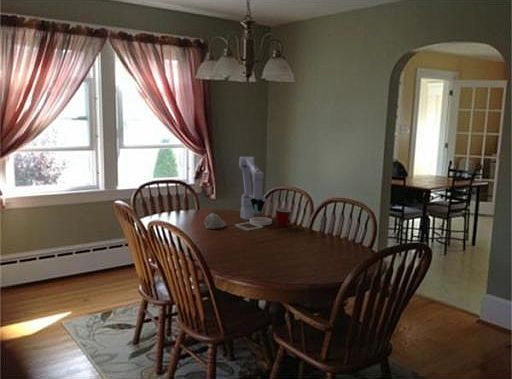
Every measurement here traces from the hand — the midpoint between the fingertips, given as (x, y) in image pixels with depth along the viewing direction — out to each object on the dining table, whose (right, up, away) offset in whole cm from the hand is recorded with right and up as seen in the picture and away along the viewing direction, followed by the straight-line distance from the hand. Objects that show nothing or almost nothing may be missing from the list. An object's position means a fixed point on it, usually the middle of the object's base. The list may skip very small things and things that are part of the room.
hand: (257, 210), depth 309 cm
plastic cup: (+17, -11, -1) cm, 20 cm away
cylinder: (0, -2, 0) cm, 2 cm away
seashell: (-28, -11, -5) cm, 31 cm away
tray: (-5, -11, -6) cm, 14 cm away
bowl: (+2, -9, +6) cm, 11 cm away
